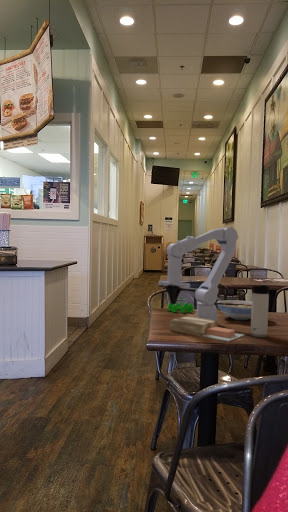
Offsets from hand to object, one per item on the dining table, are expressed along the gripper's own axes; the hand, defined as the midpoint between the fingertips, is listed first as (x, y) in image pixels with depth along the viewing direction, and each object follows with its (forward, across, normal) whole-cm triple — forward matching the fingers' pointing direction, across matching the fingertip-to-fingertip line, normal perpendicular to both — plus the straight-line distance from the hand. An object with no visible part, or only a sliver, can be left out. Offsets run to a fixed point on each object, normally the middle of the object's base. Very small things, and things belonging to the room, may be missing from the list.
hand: (173, 303), depth 170 cm
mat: (+9, +24, -1) cm, 26 cm away
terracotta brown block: (+9, +23, -1) cm, 25 cm away
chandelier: (+10, -18, +34) cm, 40 cm away
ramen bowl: (+10, +13, +38) cm, 41 cm away
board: (+9, +11, -1) cm, 15 cm away
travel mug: (+10, +34, +10) cm, 37 cm away
